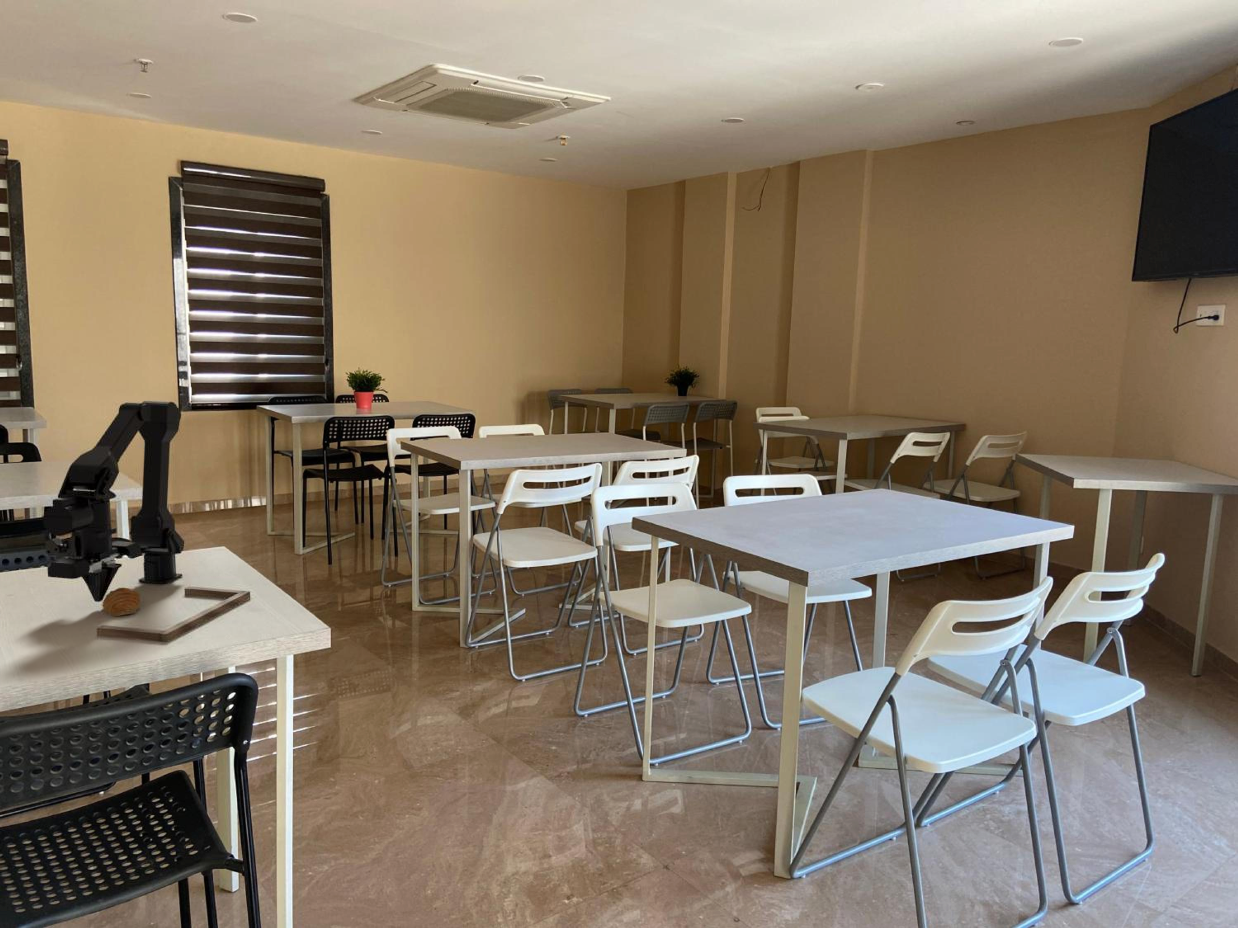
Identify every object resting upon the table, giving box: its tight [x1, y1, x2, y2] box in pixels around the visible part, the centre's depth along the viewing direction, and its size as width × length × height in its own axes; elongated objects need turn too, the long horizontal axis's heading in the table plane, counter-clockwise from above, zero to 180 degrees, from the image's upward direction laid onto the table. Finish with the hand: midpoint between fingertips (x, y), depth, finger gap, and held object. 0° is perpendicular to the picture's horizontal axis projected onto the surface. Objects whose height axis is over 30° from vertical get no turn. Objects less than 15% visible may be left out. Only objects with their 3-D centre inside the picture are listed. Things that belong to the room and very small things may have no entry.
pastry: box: [101, 587, 142, 617], centre depth 178 cm, size 9×7×4 cm
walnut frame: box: [96, 585, 251, 643], centre depth 176 cm, size 27×14×2 cm, turn 171°
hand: (98, 601), depth 178 cm, fingers closed
